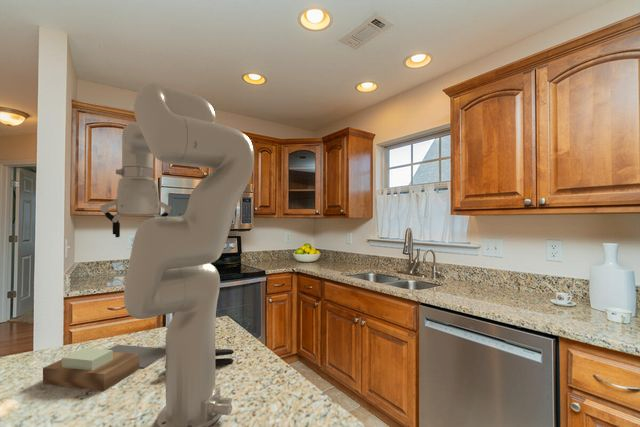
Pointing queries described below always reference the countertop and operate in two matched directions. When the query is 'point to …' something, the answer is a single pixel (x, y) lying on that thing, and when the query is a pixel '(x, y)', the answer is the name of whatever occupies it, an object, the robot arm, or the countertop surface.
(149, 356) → the mat
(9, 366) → the countertop surface
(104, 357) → the pale green flat block
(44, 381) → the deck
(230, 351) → the can opener
